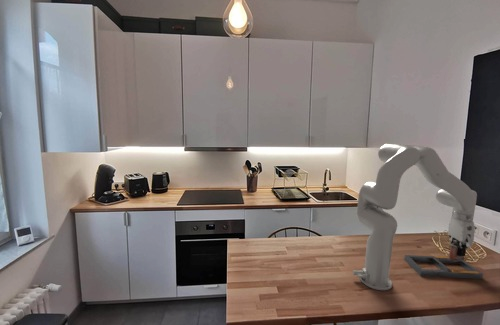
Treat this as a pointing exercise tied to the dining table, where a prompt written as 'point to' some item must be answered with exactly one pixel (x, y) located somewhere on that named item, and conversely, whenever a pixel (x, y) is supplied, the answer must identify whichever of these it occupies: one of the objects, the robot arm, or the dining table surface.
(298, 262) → the dining table surface
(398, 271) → the dining table surface
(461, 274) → the grey divided frame
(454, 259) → the reddish brown container
